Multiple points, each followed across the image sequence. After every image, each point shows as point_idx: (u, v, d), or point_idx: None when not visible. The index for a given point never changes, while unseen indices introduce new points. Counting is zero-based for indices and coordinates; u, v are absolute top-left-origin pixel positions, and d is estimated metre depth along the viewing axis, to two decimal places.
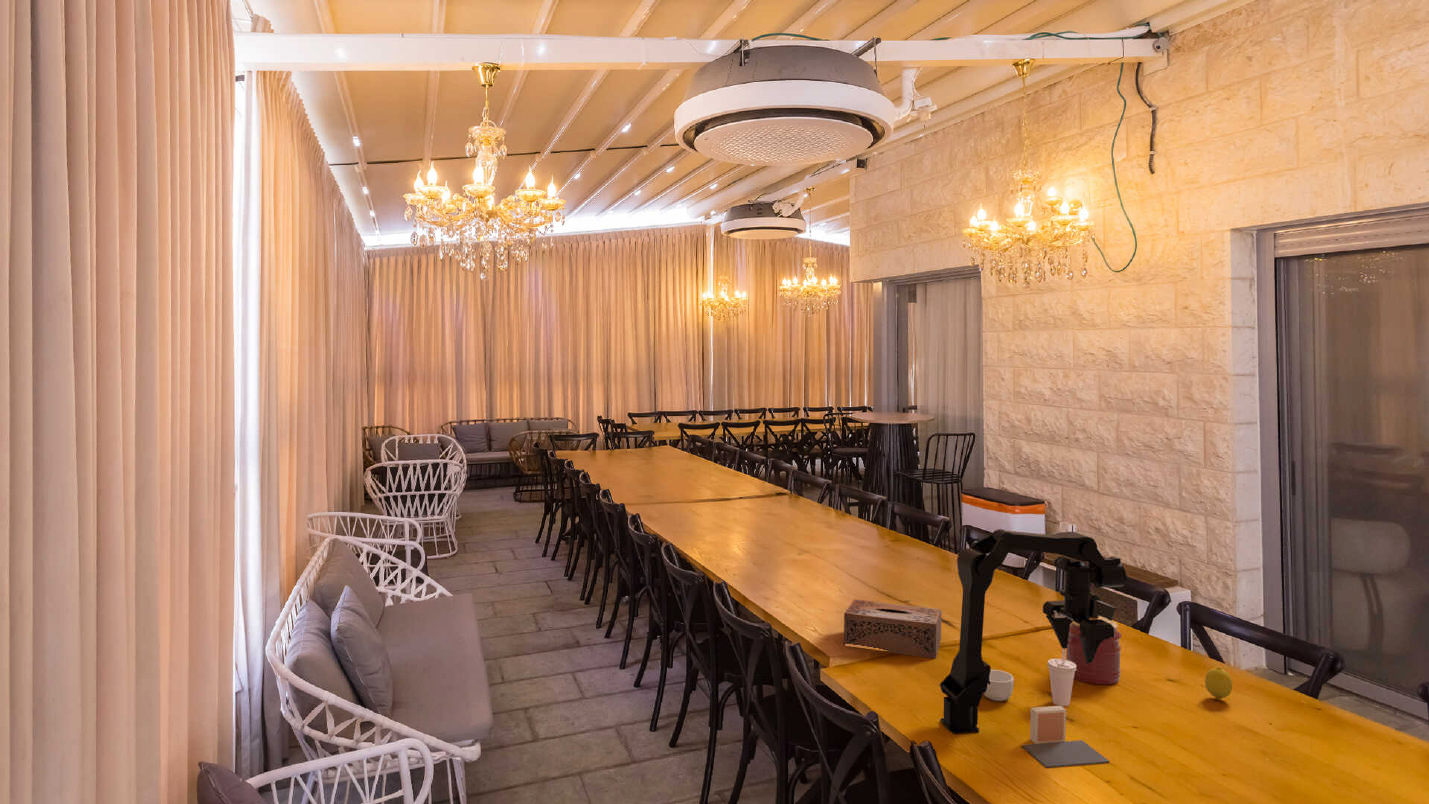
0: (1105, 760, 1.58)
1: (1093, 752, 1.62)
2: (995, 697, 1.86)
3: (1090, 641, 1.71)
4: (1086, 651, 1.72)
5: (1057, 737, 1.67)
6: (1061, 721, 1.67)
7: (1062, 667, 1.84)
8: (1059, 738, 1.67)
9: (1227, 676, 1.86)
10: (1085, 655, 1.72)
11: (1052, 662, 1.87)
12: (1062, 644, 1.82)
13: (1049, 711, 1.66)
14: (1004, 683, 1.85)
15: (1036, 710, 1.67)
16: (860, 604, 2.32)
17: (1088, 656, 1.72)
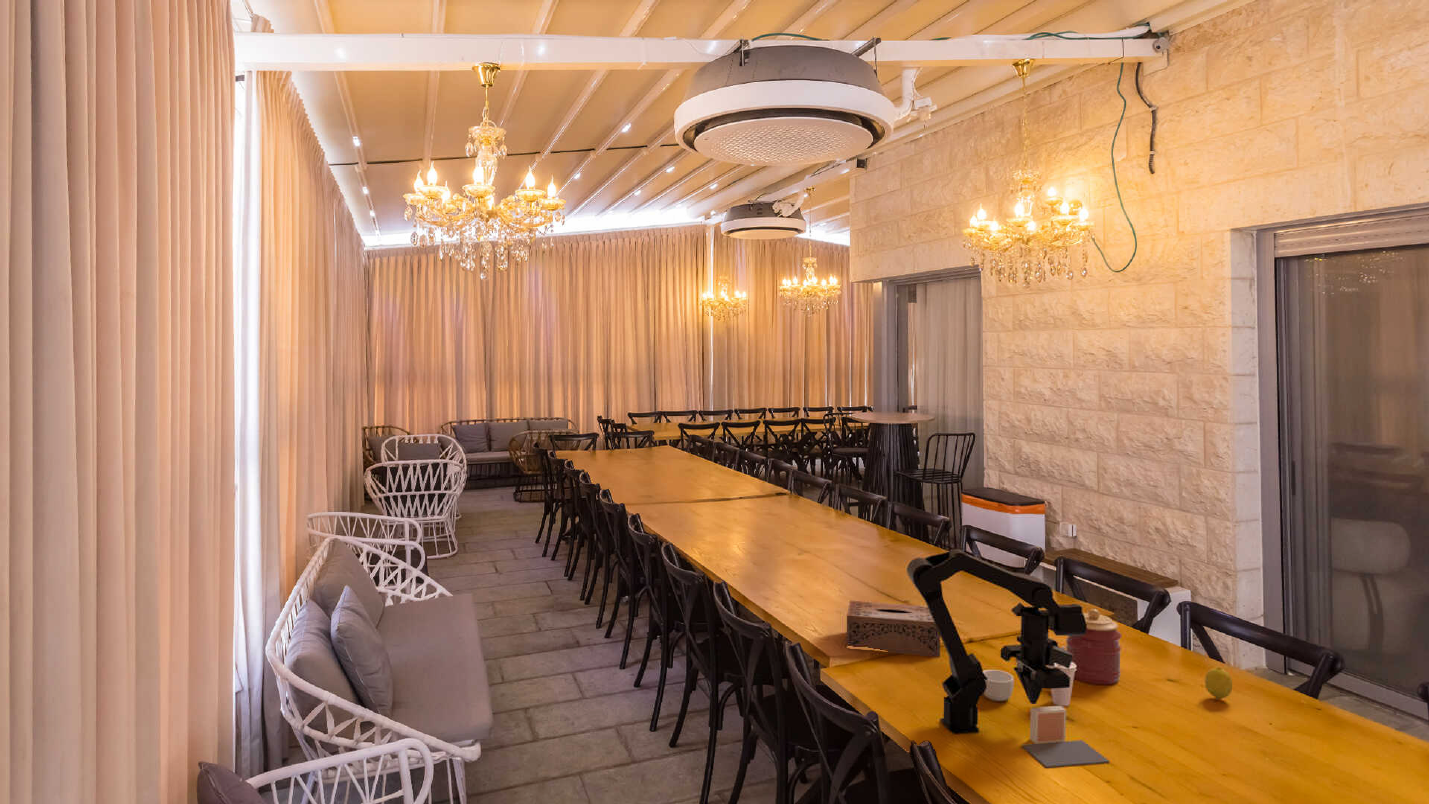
0: (1105, 760, 1.58)
1: (1093, 752, 1.62)
2: (995, 697, 1.86)
3: (1034, 682, 1.71)
4: (1030, 692, 1.72)
5: (1057, 737, 1.67)
6: (1061, 721, 1.67)
7: (1062, 667, 1.84)
8: (1059, 738, 1.67)
9: (1227, 676, 1.86)
10: (1029, 696, 1.72)
11: None
12: None
13: (1050, 711, 1.66)
14: (1004, 683, 1.85)
15: (1036, 710, 1.67)
16: (858, 605, 2.31)
17: (1032, 697, 1.72)
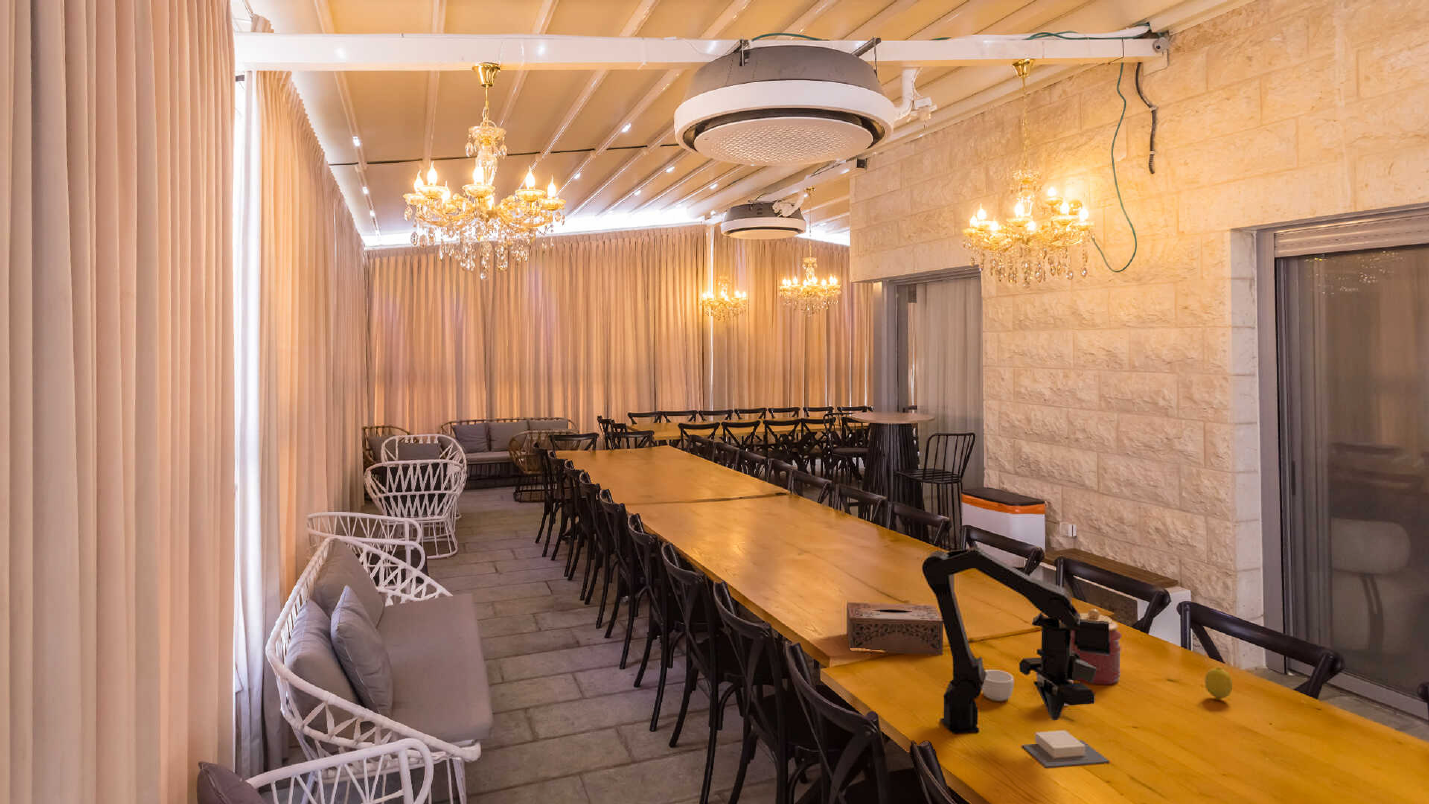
0: (1105, 760, 1.58)
1: (1093, 752, 1.62)
2: (995, 697, 1.86)
3: (1056, 697, 1.63)
4: (1052, 708, 1.64)
5: None
6: None
7: None
8: None
9: (1227, 676, 1.86)
10: (1051, 712, 1.64)
11: None
12: None
13: (1068, 756, 1.60)
14: (1004, 683, 1.85)
15: (1057, 754, 1.59)
16: (857, 607, 2.29)
17: (1054, 713, 1.64)
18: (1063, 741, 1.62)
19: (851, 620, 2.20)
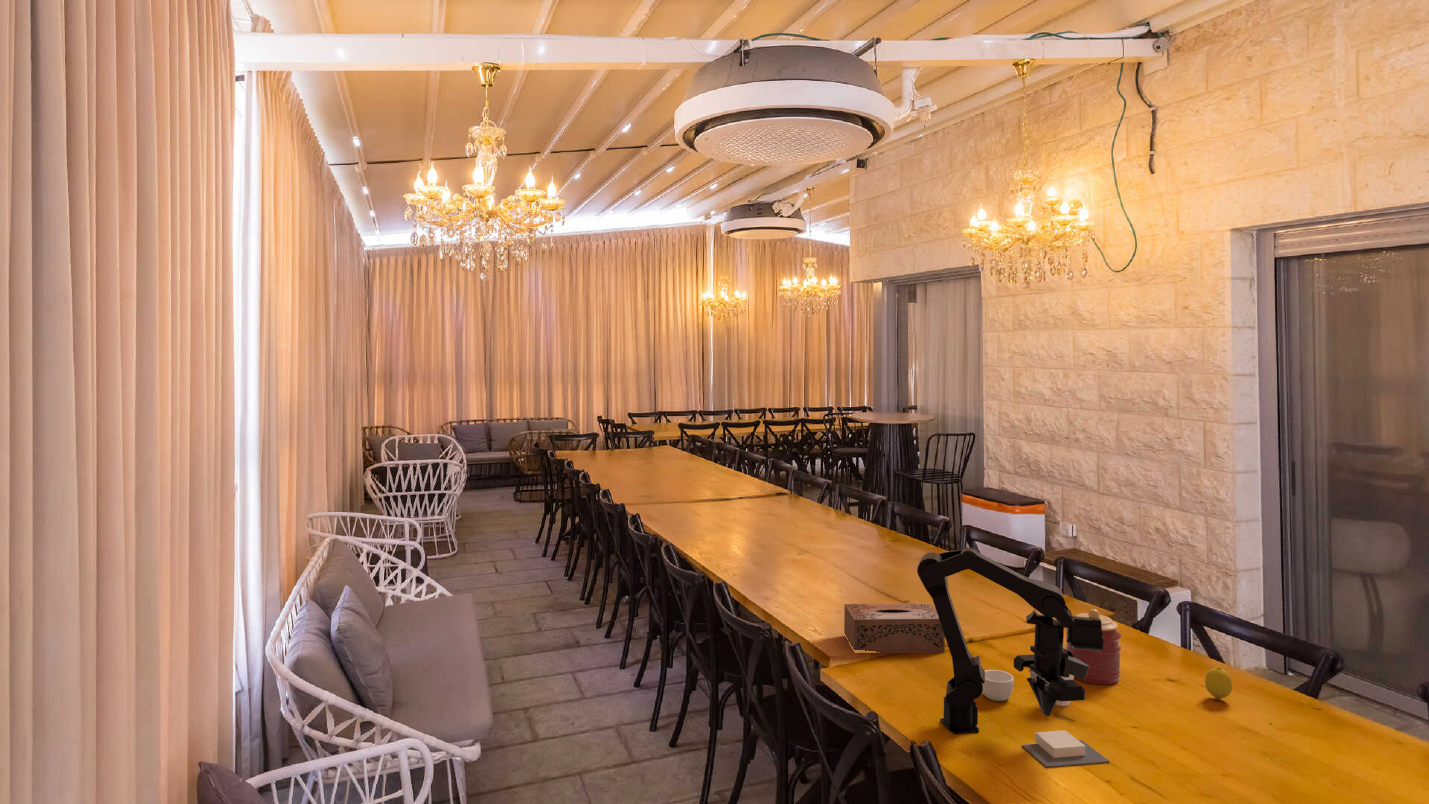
0: (1105, 760, 1.58)
1: (1093, 752, 1.62)
2: (995, 697, 1.86)
3: (1048, 694, 1.66)
4: (1044, 704, 1.66)
5: None
6: None
7: None
8: None
9: (1228, 676, 1.86)
10: (1043, 708, 1.67)
11: None
12: None
13: (1068, 756, 1.60)
14: (1004, 683, 1.85)
15: (1057, 754, 1.59)
16: (856, 608, 2.28)
17: (1046, 709, 1.67)
18: (1063, 741, 1.62)
19: (855, 622, 2.18)
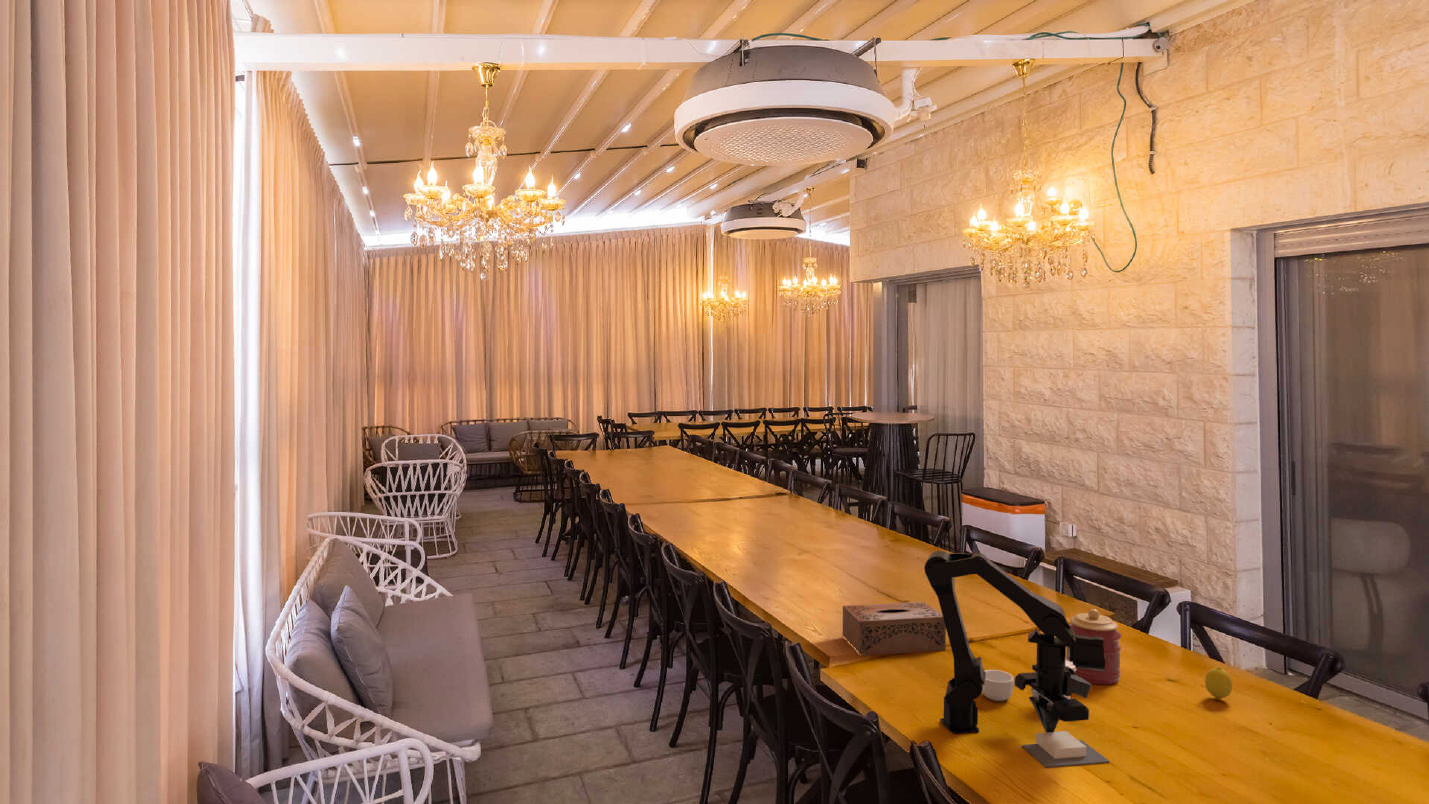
0: (1105, 760, 1.58)
1: (1093, 752, 1.62)
2: (995, 697, 1.86)
3: (1051, 713, 1.65)
4: (1047, 723, 1.66)
5: None
6: None
7: None
8: None
9: (1227, 676, 1.86)
10: (1046, 727, 1.66)
11: None
12: None
13: (1069, 757, 1.60)
14: (1004, 683, 1.85)
15: (1058, 754, 1.59)
16: (856, 609, 2.27)
17: (1049, 728, 1.66)
18: (1064, 742, 1.62)
19: (860, 624, 2.16)
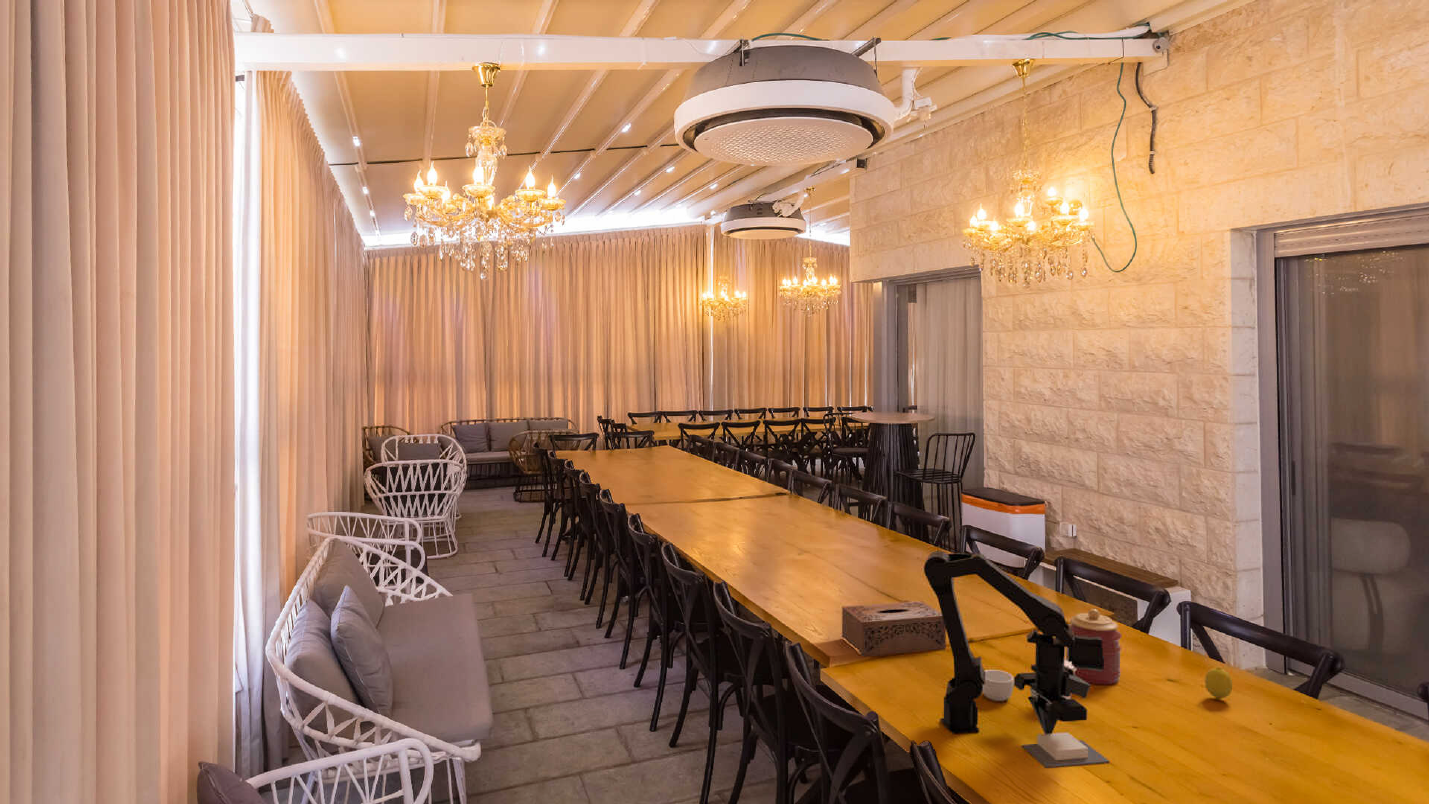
0: (1105, 760, 1.58)
1: (1093, 752, 1.62)
2: (995, 697, 1.86)
3: (1049, 713, 1.66)
4: (1045, 723, 1.66)
5: None
6: None
7: None
8: None
9: (1227, 676, 1.86)
10: (1044, 727, 1.67)
11: None
12: None
13: (1070, 758, 1.59)
14: (1004, 683, 1.85)
15: (1059, 756, 1.58)
16: (857, 610, 2.26)
17: (1047, 728, 1.66)
18: (1066, 743, 1.61)
19: (863, 625, 2.16)
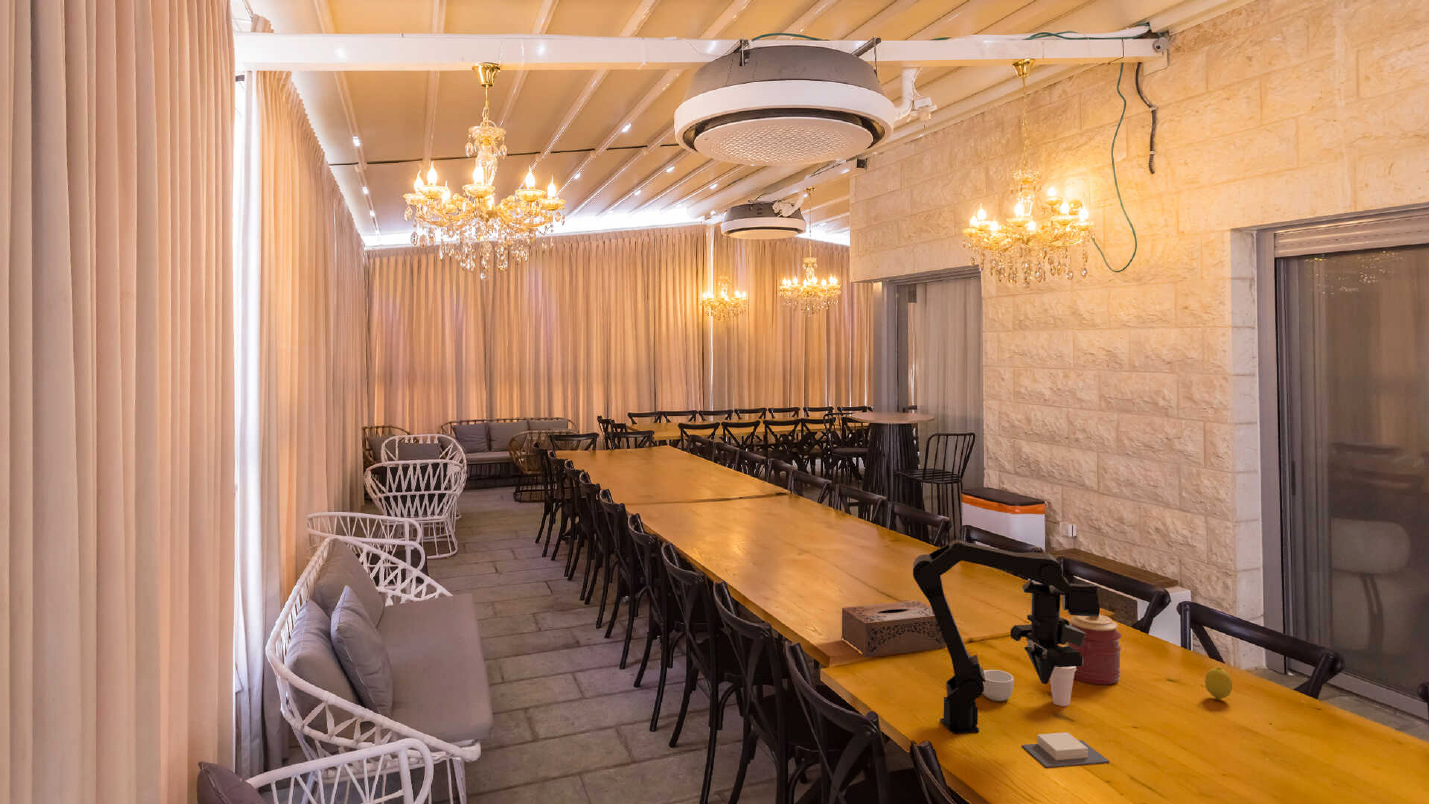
0: (1105, 760, 1.58)
1: (1093, 752, 1.62)
2: (995, 697, 1.86)
3: (1046, 661, 1.67)
4: (1042, 672, 1.67)
5: None
6: None
7: (1062, 667, 1.84)
8: None
9: (1227, 676, 1.86)
10: (1041, 676, 1.68)
11: None
12: None
13: (1070, 758, 1.59)
14: (1004, 683, 1.85)
15: (1059, 756, 1.58)
16: (857, 611, 2.25)
17: (1044, 677, 1.68)
18: (1066, 743, 1.61)
19: (866, 626, 2.15)
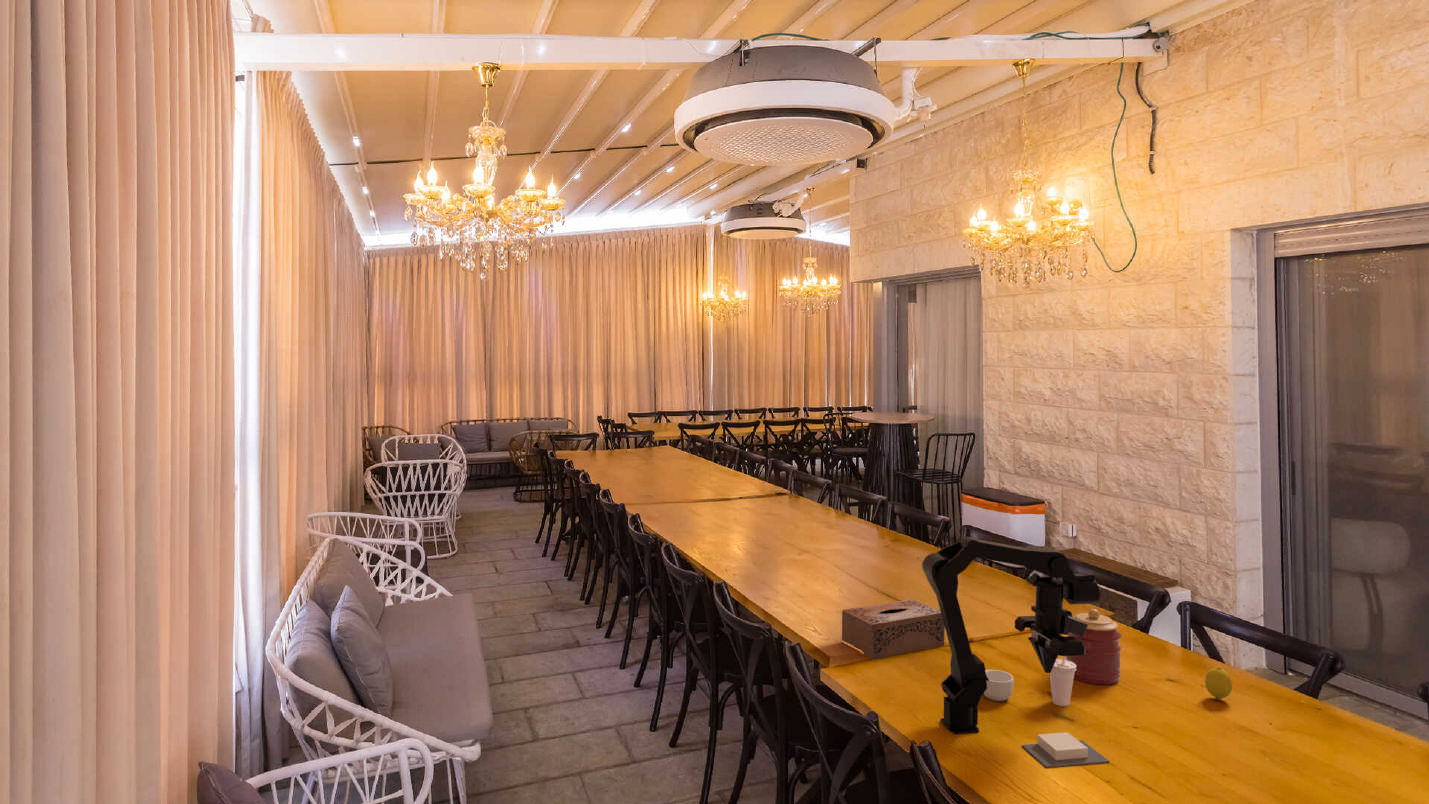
0: (1105, 760, 1.58)
1: (1093, 752, 1.62)
2: (995, 697, 1.86)
3: (1049, 651, 1.73)
4: (1045, 661, 1.73)
5: None
6: None
7: (1062, 667, 1.84)
8: None
9: (1227, 676, 1.86)
10: (1044, 665, 1.74)
11: None
12: None
13: (1070, 758, 1.59)
14: (1004, 683, 1.85)
15: (1059, 756, 1.58)
16: (858, 613, 2.24)
17: (1047, 666, 1.73)
18: (1066, 743, 1.61)
19: (872, 627, 2.14)
